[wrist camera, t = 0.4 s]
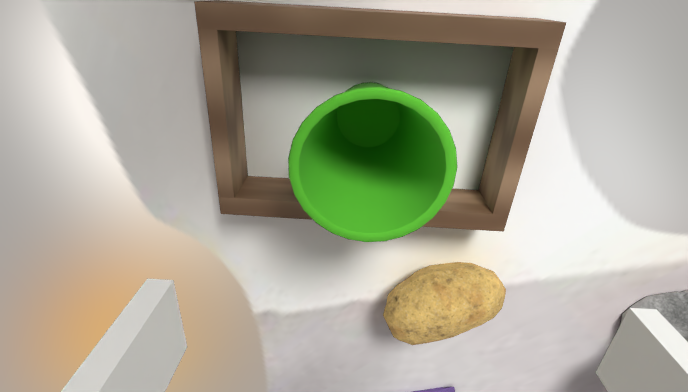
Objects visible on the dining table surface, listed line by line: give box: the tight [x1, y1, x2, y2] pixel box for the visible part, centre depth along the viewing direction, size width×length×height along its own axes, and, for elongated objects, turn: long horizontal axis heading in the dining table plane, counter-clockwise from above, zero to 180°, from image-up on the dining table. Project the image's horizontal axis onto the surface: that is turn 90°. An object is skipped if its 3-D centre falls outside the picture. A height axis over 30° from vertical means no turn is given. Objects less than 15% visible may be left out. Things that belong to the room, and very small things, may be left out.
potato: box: [383, 262, 506, 345], centre depth 35 cm, size 7×11×6 cm, turn 109°
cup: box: [288, 82, 457, 242], centre depth 25 cm, size 9×9×11 cm
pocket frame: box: [195, 0, 566, 231], centre depth 28 cm, size 15×22×4 cm
